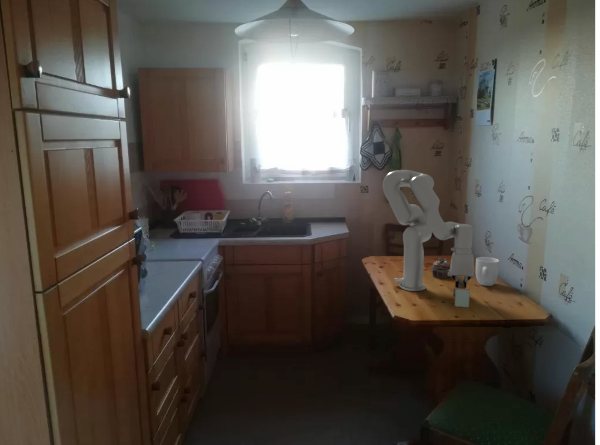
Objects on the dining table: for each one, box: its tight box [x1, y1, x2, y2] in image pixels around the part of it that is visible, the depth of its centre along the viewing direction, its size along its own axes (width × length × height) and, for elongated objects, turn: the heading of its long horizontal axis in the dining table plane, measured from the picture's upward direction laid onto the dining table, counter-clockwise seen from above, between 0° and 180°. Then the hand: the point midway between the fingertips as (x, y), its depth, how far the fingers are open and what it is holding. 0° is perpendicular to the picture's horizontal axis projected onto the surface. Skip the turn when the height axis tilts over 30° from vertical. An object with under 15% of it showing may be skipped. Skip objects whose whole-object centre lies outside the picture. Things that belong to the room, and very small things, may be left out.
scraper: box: [452, 276, 466, 298], centre depth 220 cm, size 7×12×4 cm, turn 166°
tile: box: [454, 287, 471, 309], centre depth 210 cm, size 6×2×8 cm, turn 75°
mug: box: [475, 256, 500, 287], centre depth 239 cm, size 15×11×13 cm
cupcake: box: [431, 257, 451, 279], centre depth 255 cm, size 10×10×10 cm
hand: (460, 288), depth 221 cm, fingers closed on scraper, 2 cm apart
